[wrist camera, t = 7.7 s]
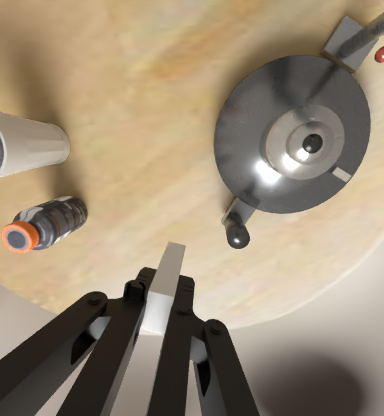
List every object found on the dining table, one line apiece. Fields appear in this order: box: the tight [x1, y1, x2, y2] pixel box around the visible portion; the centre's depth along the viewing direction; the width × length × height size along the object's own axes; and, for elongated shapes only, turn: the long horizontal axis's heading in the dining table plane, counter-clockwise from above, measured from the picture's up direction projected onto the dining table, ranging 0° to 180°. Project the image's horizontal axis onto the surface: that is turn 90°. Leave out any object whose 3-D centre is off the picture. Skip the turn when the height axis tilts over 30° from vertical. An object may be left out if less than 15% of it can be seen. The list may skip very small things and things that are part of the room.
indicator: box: [320, 12, 384, 73], centre depth 21 cm, size 8×5×14 cm, turn 150°
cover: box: [259, 104, 344, 180], centre depth 25 cm, size 8×8×7 cm
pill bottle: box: [1, 196, 87, 253], centre depth 32 cm, size 6×6×11 cm
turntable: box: [214, 55, 371, 249], centre depth 27 cm, size 25×20×7 cm
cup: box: [0, 112, 70, 177], centre depth 28 cm, size 8×8×12 cm
